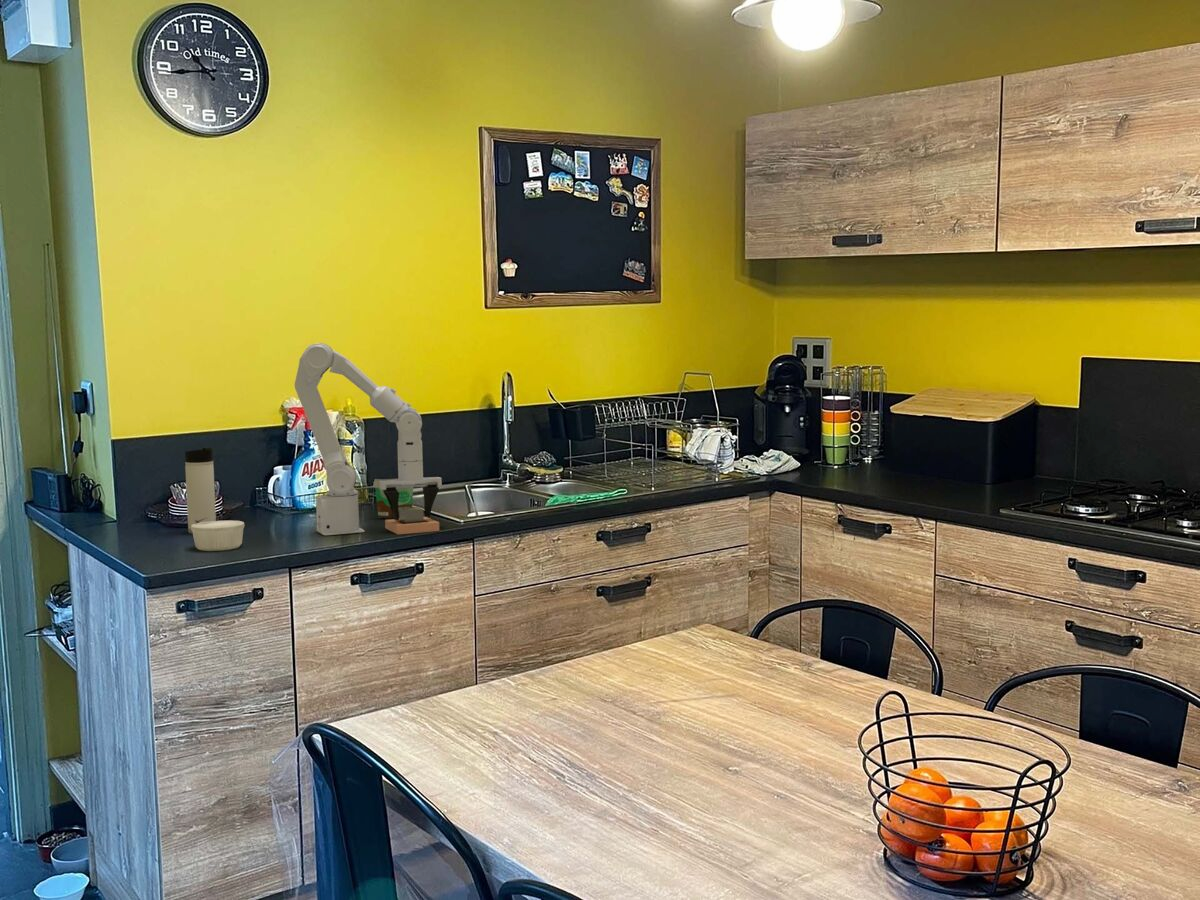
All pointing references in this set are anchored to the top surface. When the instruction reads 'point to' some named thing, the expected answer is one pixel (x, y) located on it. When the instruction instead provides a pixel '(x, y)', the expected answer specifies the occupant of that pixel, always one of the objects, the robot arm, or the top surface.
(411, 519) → the steel block
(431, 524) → the hole plate
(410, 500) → the food container
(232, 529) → the ramekin
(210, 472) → the travel mug
